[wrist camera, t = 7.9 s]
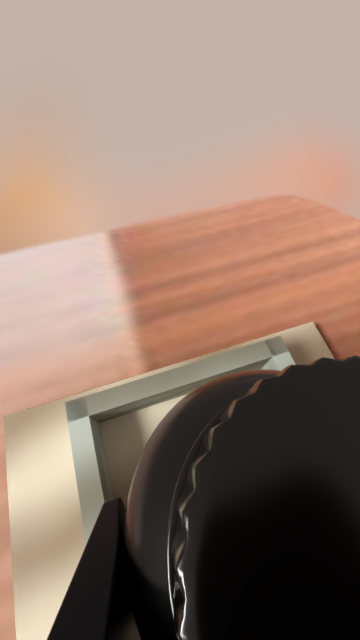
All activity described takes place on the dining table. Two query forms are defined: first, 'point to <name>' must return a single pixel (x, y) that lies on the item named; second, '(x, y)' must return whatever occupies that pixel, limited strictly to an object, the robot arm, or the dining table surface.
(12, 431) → the cradle board
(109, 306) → the dining table surface
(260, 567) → the supplement bottle
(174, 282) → the dining table surface
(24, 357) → the dining table surface
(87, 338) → the dining table surface
